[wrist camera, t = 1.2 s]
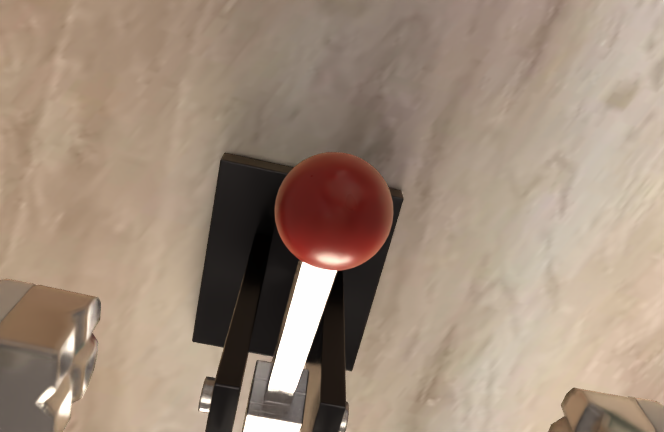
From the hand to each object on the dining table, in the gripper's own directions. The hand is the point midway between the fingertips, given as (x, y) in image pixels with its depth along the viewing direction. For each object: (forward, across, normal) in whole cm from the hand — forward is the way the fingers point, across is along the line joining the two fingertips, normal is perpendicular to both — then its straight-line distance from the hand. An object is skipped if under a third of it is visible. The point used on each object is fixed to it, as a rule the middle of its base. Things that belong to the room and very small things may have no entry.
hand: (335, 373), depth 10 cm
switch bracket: (+23, 0, +11) cm, 26 cm away
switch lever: (+10, 0, +5) cm, 11 cm away
